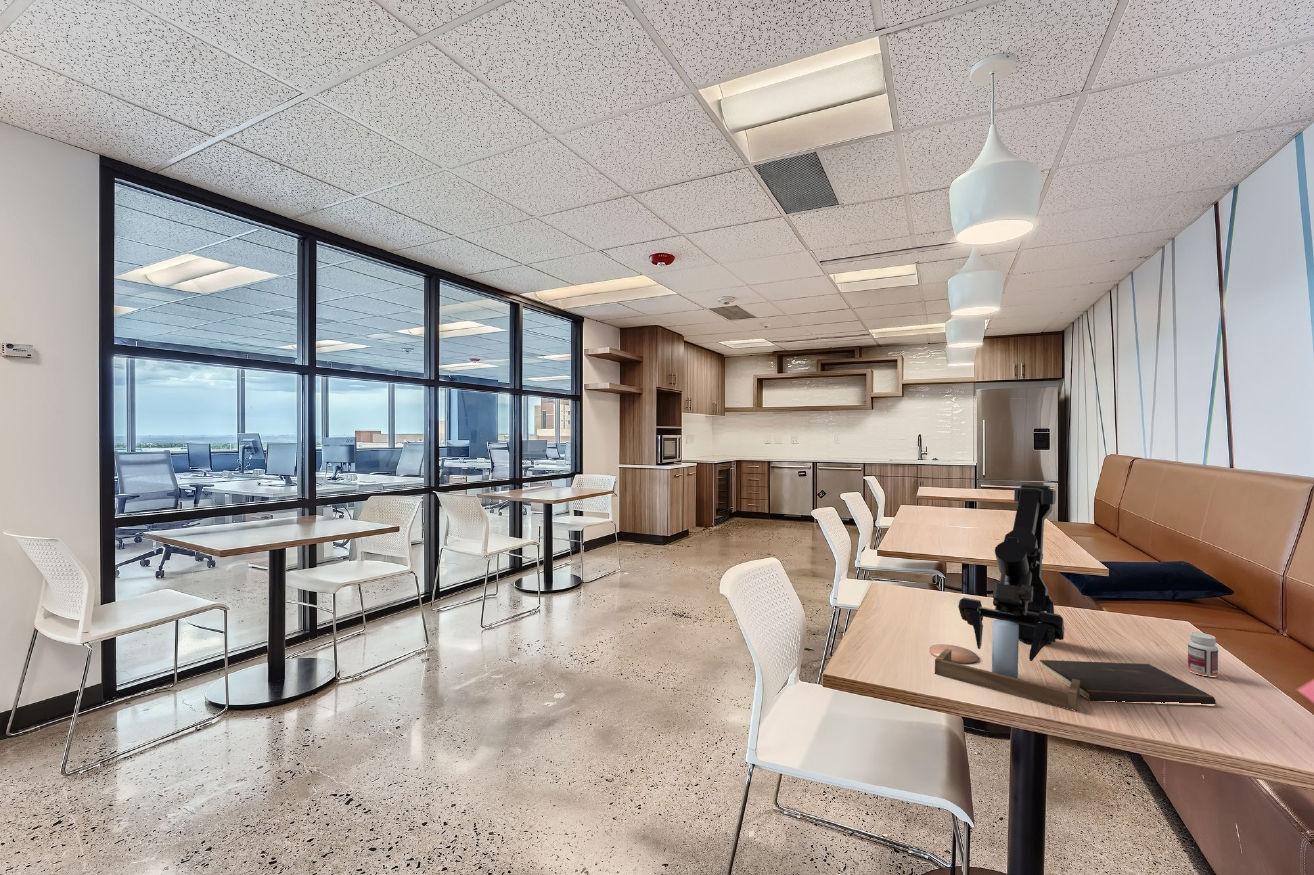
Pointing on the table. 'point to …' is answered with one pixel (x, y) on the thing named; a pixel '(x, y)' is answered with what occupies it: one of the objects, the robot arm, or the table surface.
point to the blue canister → (1005, 648)
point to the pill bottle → (1203, 654)
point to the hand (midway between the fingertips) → (1003, 653)
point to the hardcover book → (1125, 682)
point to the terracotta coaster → (955, 653)
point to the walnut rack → (1008, 683)
